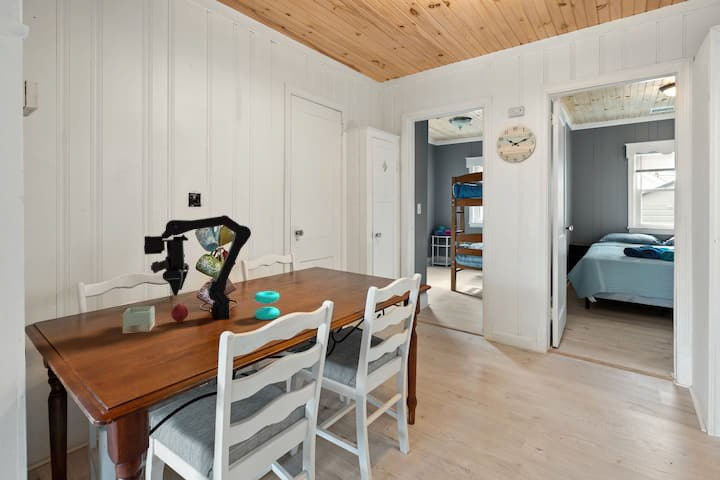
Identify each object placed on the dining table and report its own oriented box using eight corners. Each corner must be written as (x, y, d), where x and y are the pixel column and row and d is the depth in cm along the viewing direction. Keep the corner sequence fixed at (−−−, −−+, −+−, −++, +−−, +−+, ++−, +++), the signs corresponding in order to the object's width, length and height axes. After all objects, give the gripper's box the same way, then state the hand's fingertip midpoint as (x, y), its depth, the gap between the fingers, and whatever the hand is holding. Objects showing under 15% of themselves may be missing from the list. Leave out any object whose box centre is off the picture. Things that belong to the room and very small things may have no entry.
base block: (155, 325, 143) (154, 317, 143) (149, 332, 135) (149, 324, 135) (129, 327, 141) (129, 319, 140) (122, 334, 133) (122, 326, 132)
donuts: (259, 297, 146) (250, 292, 154) (260, 322, 147) (251, 316, 155) (283, 294, 152) (273, 289, 160) (283, 318, 153) (273, 312, 161)
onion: (181, 325, 142) (181, 304, 141) (168, 324, 143) (167, 303, 142) (191, 320, 148) (190, 301, 147) (178, 319, 149) (177, 300, 148)
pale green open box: (155, 317, 143) (154, 305, 143) (150, 324, 135) (149, 312, 135) (129, 319, 141) (129, 307, 140) (123, 326, 133) (122, 313, 132)
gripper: (157, 250, 150) (160, 288, 151) (145, 257, 132) (148, 300, 133) (188, 249, 153) (190, 286, 154) (179, 255, 135) (182, 297, 136)
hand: (177, 292), depth 145 cm, fingers open, 9 cm apart
